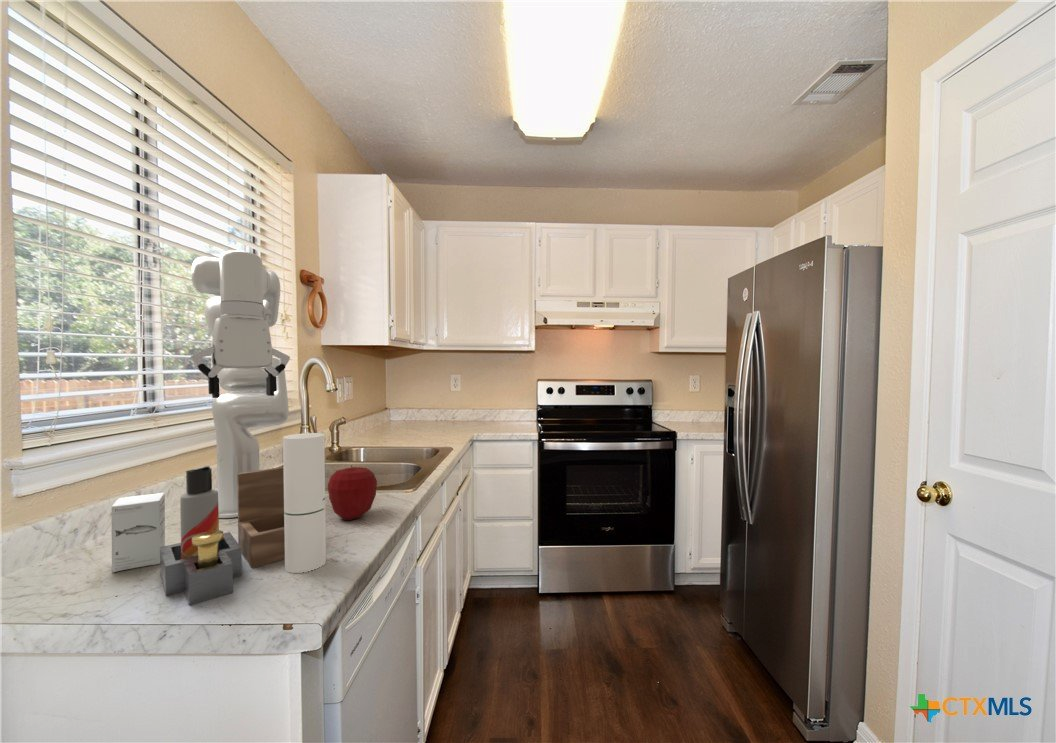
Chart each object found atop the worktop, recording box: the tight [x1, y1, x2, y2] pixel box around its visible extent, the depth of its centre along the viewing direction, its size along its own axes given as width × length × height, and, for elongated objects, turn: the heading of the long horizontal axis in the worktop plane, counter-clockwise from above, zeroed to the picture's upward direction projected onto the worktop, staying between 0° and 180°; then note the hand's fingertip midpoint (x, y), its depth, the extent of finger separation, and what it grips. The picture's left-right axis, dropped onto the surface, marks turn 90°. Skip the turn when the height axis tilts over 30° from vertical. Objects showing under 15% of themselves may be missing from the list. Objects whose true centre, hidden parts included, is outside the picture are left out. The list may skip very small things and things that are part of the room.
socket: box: [159, 531, 243, 606], centre depth 82 cm, size 18×11×5 cm, turn 43°
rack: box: [237, 466, 285, 569], centre depth 95 cm, size 12×11×16 cm
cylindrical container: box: [282, 432, 327, 574], centre depth 88 cm, size 7×7×25 cm
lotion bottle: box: [179, 465, 220, 559], centre depth 84 cm, size 6×6×20 cm
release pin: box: [192, 529, 224, 569], centre depth 77 cm, size 4×4×6 cm
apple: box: [327, 464, 378, 521], centre depth 115 cm, size 12×12×13 cm
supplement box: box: [111, 492, 166, 574], centre depth 90 cm, size 7×7×13 cm
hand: (243, 396), depth 93 cm, fingers open, 9 cm apart
